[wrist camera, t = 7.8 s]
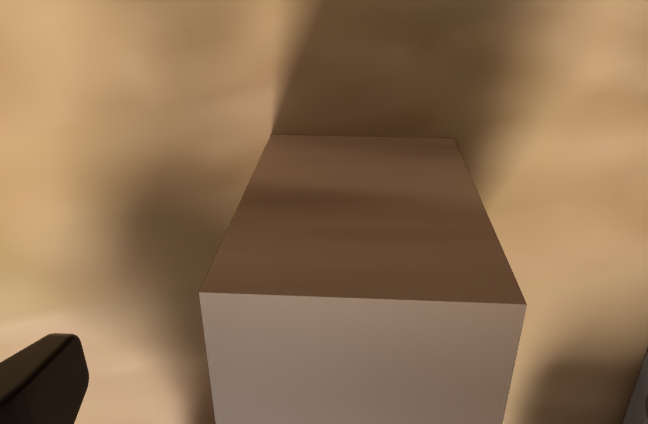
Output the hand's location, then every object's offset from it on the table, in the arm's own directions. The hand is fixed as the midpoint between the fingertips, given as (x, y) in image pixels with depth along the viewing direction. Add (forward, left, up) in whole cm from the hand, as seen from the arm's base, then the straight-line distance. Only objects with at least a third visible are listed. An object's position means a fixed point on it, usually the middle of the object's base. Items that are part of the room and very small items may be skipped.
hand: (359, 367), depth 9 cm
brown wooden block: (0, 0, -5) cm, 5 cm away
